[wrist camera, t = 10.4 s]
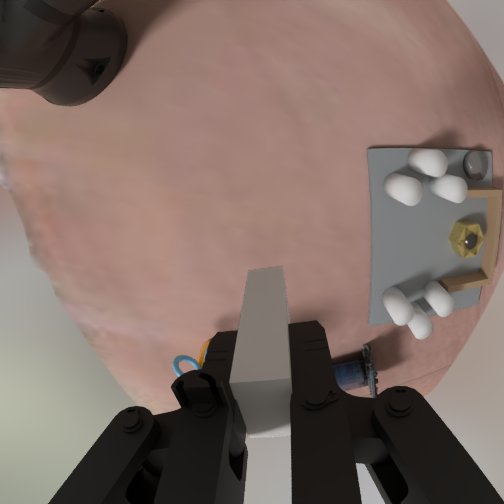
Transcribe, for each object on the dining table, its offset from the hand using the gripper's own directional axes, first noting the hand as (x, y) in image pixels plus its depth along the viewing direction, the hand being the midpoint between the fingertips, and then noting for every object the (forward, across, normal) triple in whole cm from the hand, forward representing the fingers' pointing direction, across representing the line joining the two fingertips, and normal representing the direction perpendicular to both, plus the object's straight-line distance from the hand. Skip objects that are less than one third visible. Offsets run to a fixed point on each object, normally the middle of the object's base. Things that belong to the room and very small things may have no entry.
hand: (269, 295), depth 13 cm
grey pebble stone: (+22, +28, +2) cm, 36 cm away
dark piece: (+22, +6, -28) cm, 36 cm away
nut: (+21, +26, -8) cm, 35 cm away
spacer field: (+22, +22, -8) cm, 32 cm away
